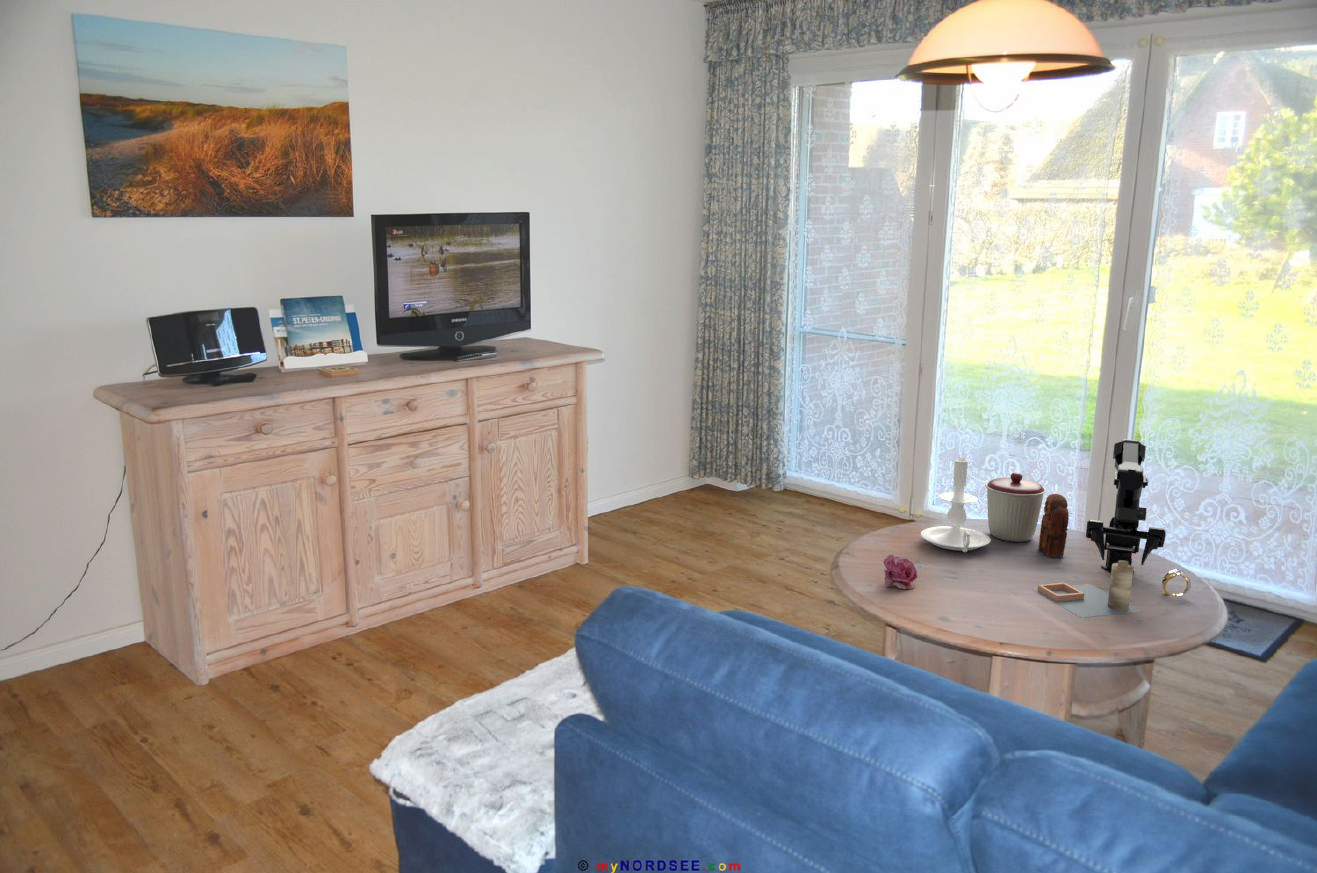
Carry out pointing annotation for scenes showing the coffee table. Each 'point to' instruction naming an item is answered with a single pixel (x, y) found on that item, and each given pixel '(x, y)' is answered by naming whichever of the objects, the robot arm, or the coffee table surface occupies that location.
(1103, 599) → the board
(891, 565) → the flower
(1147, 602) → the coffee table surface
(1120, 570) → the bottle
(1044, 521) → the wooden figurine
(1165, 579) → the ring
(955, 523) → the candlestick
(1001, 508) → the canister
